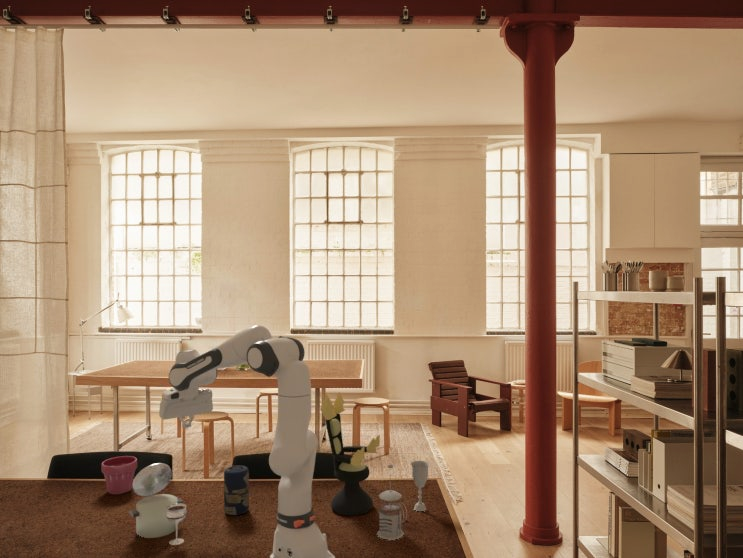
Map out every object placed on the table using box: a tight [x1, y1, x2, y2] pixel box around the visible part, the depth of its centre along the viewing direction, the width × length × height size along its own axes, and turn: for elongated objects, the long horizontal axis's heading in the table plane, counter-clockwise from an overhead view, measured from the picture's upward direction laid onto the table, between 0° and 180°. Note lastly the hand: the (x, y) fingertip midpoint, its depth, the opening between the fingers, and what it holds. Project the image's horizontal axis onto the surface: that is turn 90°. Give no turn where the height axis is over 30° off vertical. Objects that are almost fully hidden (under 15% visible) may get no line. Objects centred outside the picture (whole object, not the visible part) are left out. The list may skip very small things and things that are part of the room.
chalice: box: [410, 460, 430, 512], centre depth 222 cm, size 7×7×18 cm
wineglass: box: [166, 502, 188, 546], centre depth 196 cm, size 7×7×12 cm
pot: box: [129, 493, 184, 539], centre depth 205 cm, size 14×18×10 cm
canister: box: [223, 464, 250, 516], centre depth 220 cm, size 10×10×18 cm
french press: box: [376, 463, 408, 541], centre depth 200 cm, size 10×12×25 cm
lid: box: [132, 462, 173, 497], centre depth 209 cm, size 14×14×2 cm
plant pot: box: [101, 455, 138, 495], centre depth 242 cm, size 14×14×13 cm
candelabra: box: [320, 392, 381, 516], centre depth 224 cm, size 19×22×45 cm
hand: (186, 427), depth 219 cm, fingers closed
